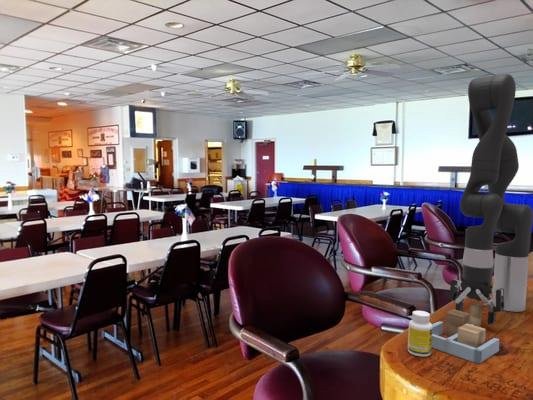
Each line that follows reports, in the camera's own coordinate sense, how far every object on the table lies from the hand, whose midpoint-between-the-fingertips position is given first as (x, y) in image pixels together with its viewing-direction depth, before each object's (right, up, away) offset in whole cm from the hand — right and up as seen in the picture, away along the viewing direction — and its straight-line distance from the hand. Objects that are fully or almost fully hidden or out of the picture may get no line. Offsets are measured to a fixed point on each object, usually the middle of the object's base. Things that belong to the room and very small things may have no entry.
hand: (474, 320), depth 124 cm
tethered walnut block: (-4, -2, -3) cm, 6 cm away
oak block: (-9, -3, -17) cm, 20 cm away
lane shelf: (-11, -3, -14) cm, 18 cm away
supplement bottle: (-22, -3, -18) cm, 28 cm away
